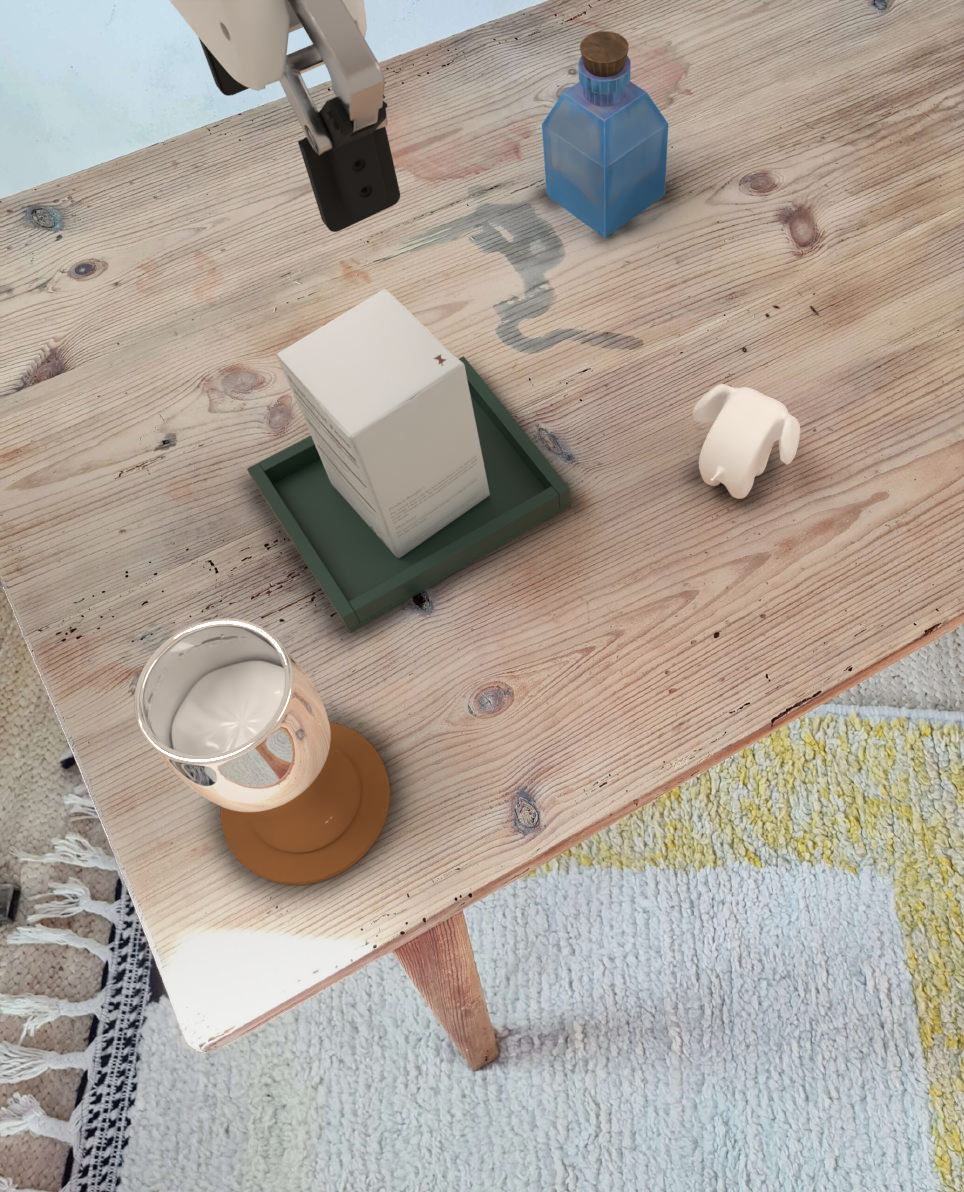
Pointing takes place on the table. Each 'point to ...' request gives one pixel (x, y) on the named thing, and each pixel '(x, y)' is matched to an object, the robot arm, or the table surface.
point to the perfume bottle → (605, 140)
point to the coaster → (338, 852)
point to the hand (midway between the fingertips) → (306, 144)
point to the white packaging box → (389, 420)
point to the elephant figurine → (742, 436)
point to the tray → (382, 581)
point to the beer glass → (248, 732)
